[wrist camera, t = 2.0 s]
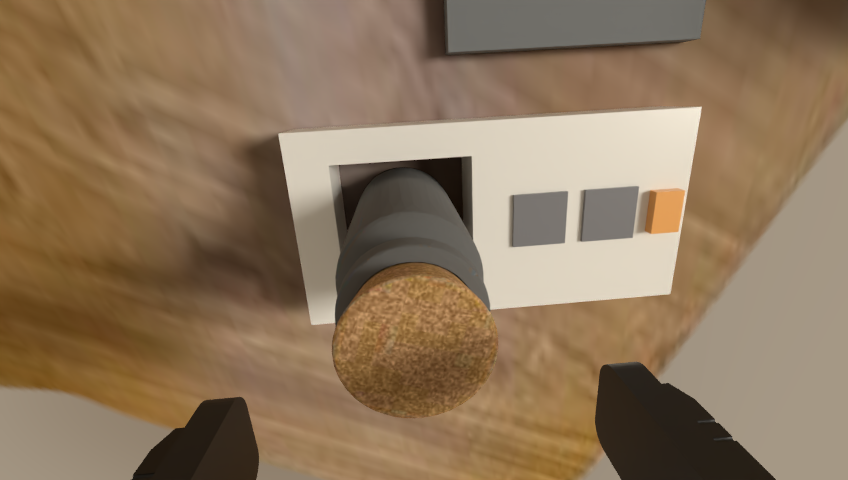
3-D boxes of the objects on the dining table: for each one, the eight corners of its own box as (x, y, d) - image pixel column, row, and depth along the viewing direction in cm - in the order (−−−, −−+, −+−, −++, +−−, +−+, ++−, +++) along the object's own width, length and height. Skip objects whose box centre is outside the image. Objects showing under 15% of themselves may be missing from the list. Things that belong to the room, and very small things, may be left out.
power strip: (321, 297, 27) (309, 330, 23) (294, 129, 23) (274, 134, 19) (637, 271, 28) (676, 298, 24) (659, 106, 24) (710, 106, 20)
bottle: (417, 270, 27) (443, 461, 12) (340, 225, 25) (271, 383, 11) (467, 199, 25) (561, 322, 11) (389, 147, 24) (383, 213, 10)
